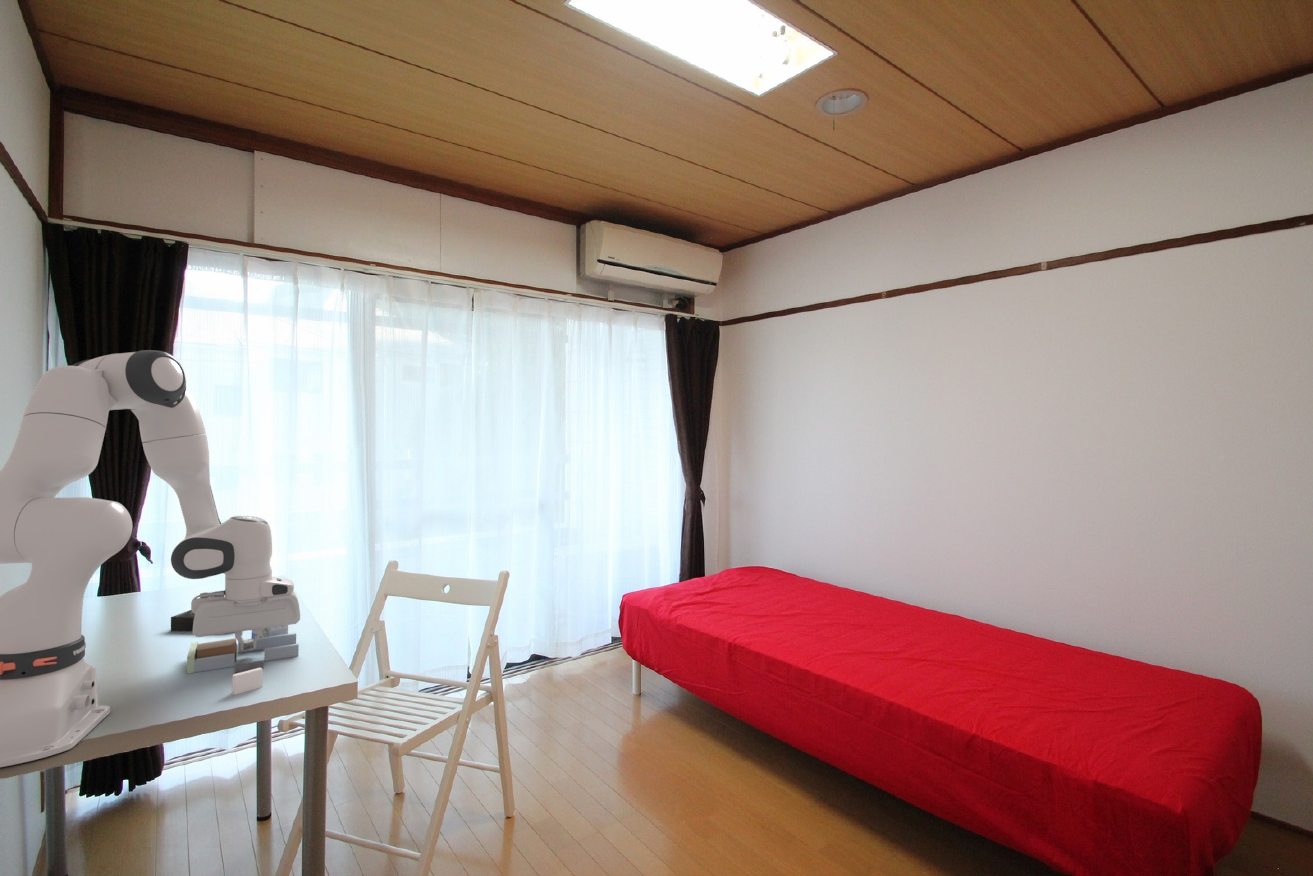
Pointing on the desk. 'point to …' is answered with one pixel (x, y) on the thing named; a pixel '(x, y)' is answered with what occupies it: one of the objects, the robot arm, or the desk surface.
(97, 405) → the robot arm
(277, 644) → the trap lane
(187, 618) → the portable cd player
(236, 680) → the eraser
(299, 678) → the desk surface
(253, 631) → the medicine box
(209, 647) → the walnut block
